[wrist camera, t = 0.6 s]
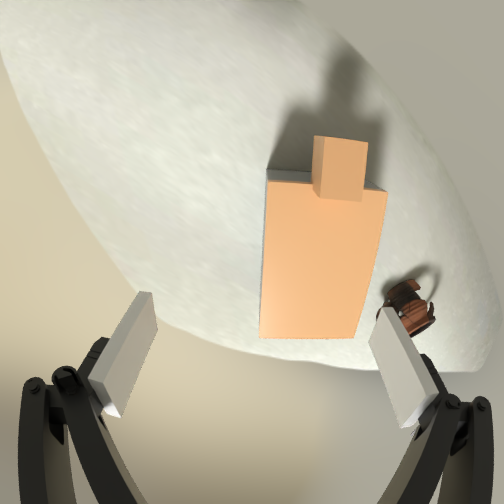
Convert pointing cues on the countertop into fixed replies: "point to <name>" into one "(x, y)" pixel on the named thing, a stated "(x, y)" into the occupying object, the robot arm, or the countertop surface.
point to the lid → (320, 245)
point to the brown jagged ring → (410, 307)
